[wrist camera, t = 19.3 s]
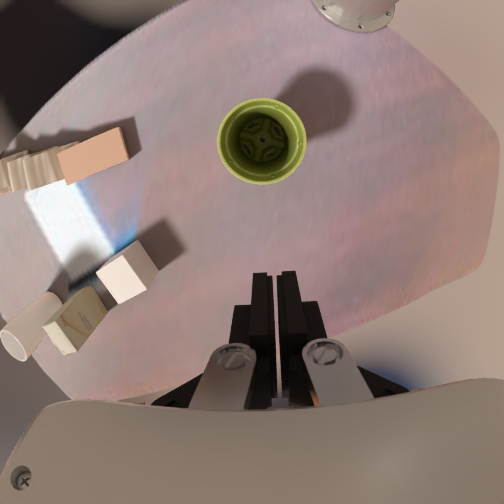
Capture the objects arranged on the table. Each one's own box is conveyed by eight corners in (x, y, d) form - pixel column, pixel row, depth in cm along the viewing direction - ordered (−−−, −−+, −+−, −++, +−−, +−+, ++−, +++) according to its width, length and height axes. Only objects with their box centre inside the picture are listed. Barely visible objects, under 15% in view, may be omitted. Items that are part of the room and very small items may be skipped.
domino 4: (118, 126, 35) (57, 153, 34) (128, 159, 37) (67, 185, 36) (120, 127, 37) (61, 153, 36) (130, 159, 39) (70, 183, 38)
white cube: (112, 256, 45) (95, 272, 40) (138, 239, 44) (122, 254, 38) (132, 285, 47) (118, 304, 42) (159, 270, 46) (146, 289, 40)
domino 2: (57, 145, 37) (7, 162, 34) (62, 176, 38) (11, 191, 36) (61, 145, 38) (11, 161, 35) (65, 175, 40) (16, 190, 37)
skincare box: (109, 311, 49) (79, 353, 38) (93, 317, 50) (63, 357, 39) (90, 282, 47) (55, 320, 36) (75, 289, 48) (40, 326, 37)
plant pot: (212, 130, 38) (199, 130, 30) (272, 92, 35) (274, 81, 27) (251, 186, 40) (249, 200, 32) (310, 150, 38) (323, 155, 30)
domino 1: (27, 149, 37) (-21, 167, 32) (31, 178, 38) (-16, 195, 34) (29, 150, 38) (-18, 167, 33) (33, 177, 40) (-13, 194, 35)
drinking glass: (69, 319, 51) (31, 366, 37) (45, 312, 51) (6, 354, 37) (64, 290, 48) (19, 336, 34) (39, 284, 48) (-6, 325, 34)
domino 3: (78, 140, 36) (22, 160, 33) (84, 172, 38) (28, 191, 35) (80, 141, 38) (26, 159, 35) (86, 171, 40) (32, 189, 37)
